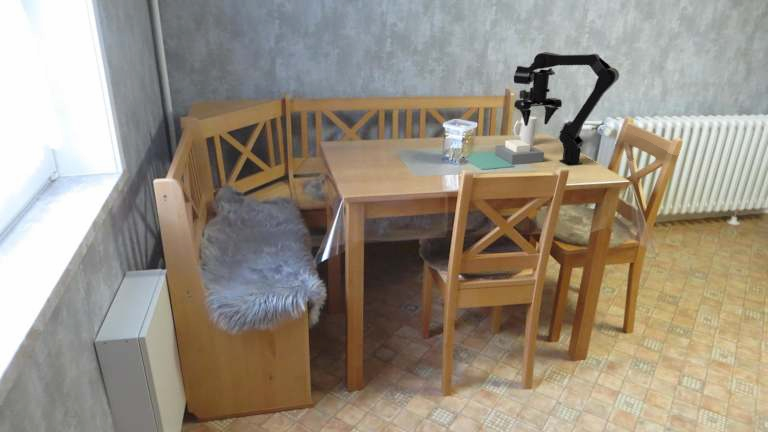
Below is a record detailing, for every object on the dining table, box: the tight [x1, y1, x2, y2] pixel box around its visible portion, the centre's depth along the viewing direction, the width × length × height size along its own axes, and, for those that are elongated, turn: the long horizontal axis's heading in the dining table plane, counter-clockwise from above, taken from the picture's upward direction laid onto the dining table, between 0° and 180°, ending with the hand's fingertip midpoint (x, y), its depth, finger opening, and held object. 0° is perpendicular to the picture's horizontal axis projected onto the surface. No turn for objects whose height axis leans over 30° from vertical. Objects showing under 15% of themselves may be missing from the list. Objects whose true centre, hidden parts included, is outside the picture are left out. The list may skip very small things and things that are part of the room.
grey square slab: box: [494, 144, 545, 166], centre depth 221 cm, size 14×14×4 cm
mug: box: [513, 115, 538, 147], centre depth 240 cm, size 10×7×12 cm, turn 102°
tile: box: [504, 139, 530, 153], centre depth 220 cm, size 9×6×3 cm, turn 17°
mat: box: [464, 152, 515, 171], centre depth 218 cm, size 20×14×1 cm
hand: (535, 125), depth 220 cm, fingers open, 9 cm apart
